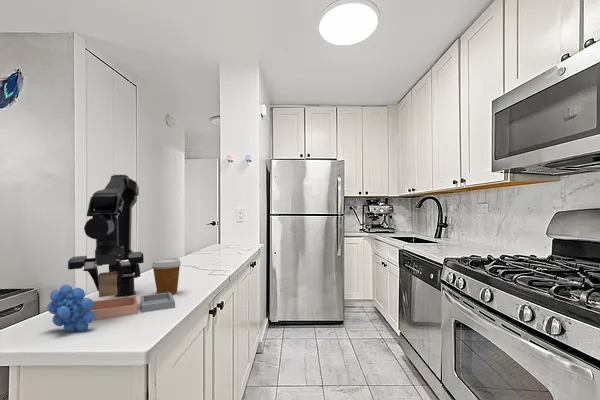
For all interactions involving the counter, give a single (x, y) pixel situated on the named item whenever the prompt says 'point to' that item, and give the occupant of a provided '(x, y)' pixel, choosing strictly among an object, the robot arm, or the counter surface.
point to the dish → (114, 307)
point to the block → (108, 284)
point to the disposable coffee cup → (166, 275)
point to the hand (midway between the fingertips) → (108, 290)
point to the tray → (157, 302)
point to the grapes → (71, 308)
